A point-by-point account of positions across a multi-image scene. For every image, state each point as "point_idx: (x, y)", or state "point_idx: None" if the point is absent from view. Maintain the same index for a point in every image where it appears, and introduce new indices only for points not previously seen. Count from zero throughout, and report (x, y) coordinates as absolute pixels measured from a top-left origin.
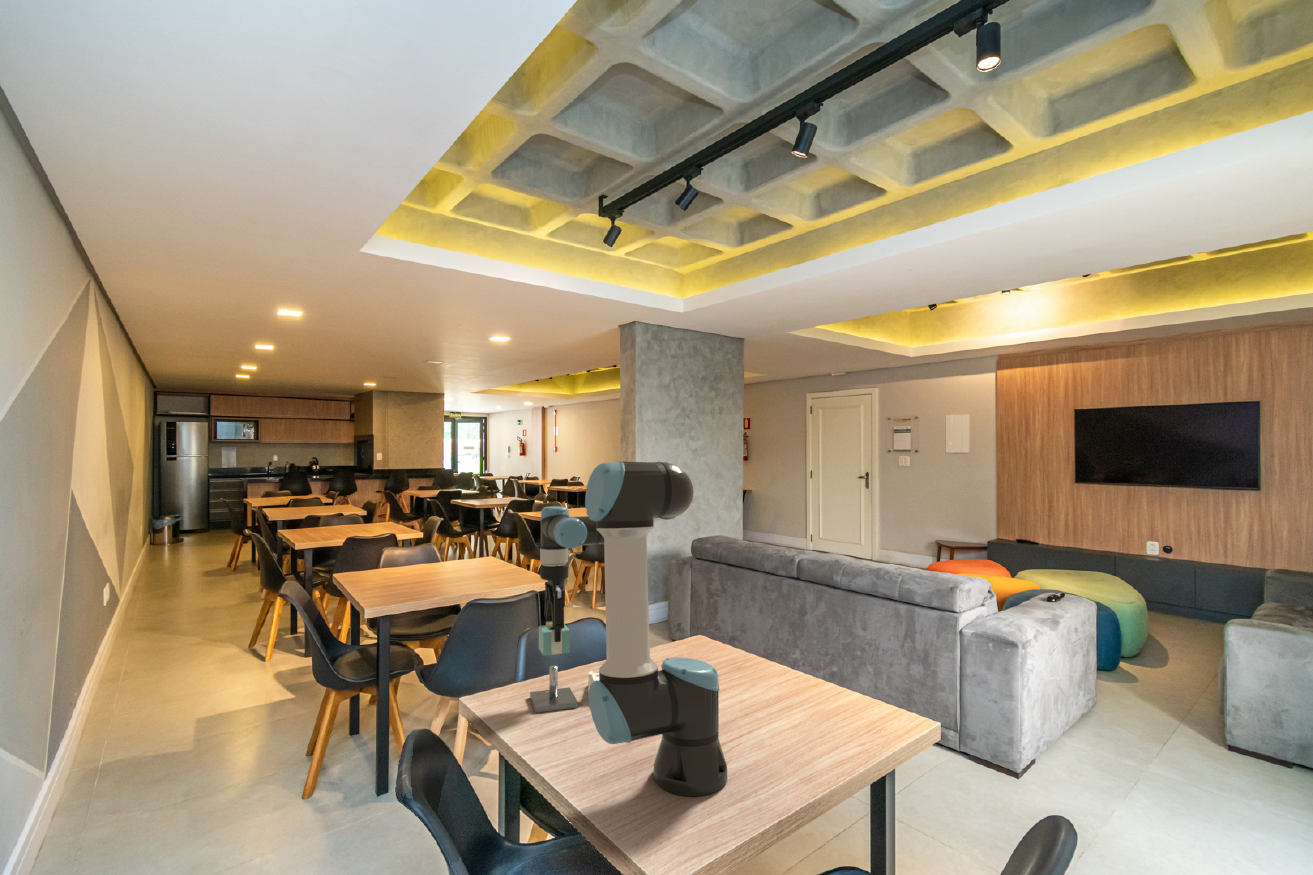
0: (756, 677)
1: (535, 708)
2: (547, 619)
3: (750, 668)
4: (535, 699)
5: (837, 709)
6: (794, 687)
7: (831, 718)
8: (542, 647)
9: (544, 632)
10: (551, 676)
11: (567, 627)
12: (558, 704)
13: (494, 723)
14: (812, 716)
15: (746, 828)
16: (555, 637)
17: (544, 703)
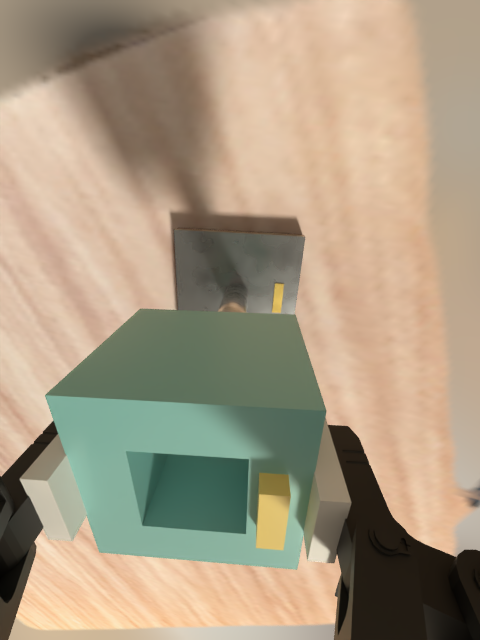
0: (220, 597)
1: (178, 229)
2: (355, 539)
3: (260, 607)
4: (236, 241)
5: (84, 603)
6: (166, 607)
7: (59, 589)
8: (154, 326)
9: (50, 403)
10: (219, 311)
11: (171, 557)
12: (177, 295)
13: (134, 76)
14: (67, 580)
15: None
16: (38, 438)
17: (195, 260)
